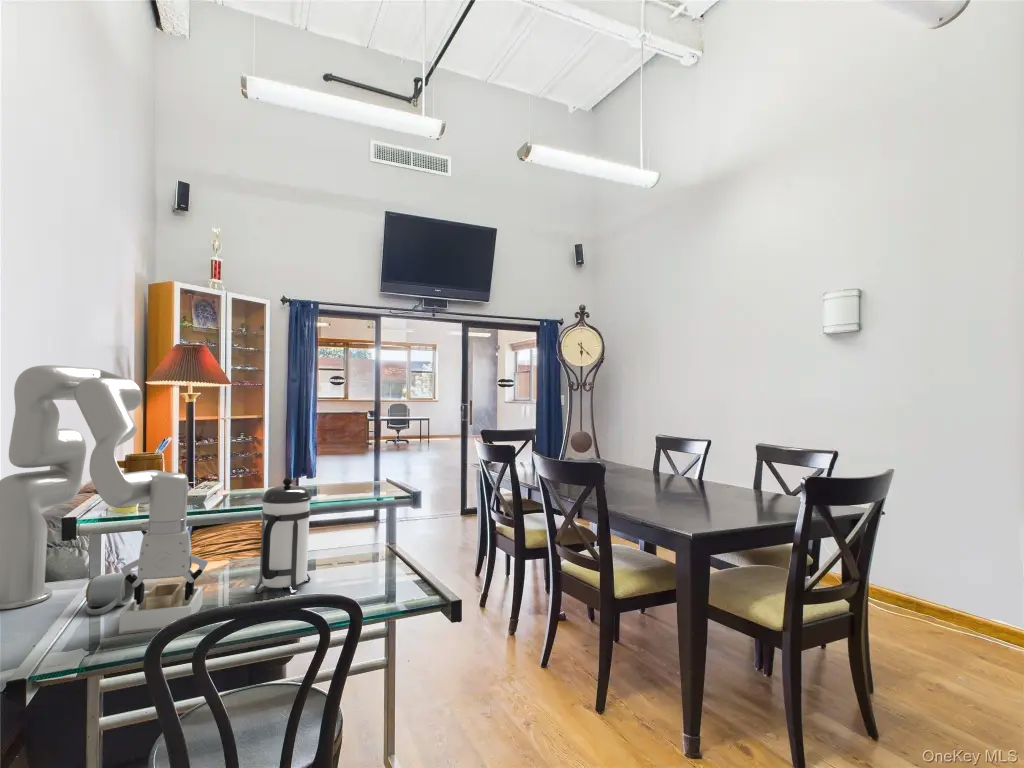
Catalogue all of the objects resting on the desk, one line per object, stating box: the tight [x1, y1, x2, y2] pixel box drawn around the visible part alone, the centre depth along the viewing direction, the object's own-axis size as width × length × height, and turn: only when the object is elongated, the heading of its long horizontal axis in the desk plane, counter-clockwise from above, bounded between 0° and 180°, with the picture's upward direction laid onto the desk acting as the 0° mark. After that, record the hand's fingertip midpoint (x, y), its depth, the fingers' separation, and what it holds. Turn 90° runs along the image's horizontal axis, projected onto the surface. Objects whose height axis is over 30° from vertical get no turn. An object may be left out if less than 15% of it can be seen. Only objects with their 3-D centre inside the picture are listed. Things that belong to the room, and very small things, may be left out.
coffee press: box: [254, 477, 313, 594], centre depth 148 cm, size 17×16×30 cm
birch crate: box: [143, 582, 184, 610], centre depth 126 cm, size 6×9×6 cm, turn 20°
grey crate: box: [118, 586, 204, 635], centre depth 126 cm, size 14×14×4 cm
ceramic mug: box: [85, 572, 134, 616], centre depth 132 cm, size 11×8×8 cm
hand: (164, 600), depth 126 cm, fingers open, 9 cm apart
